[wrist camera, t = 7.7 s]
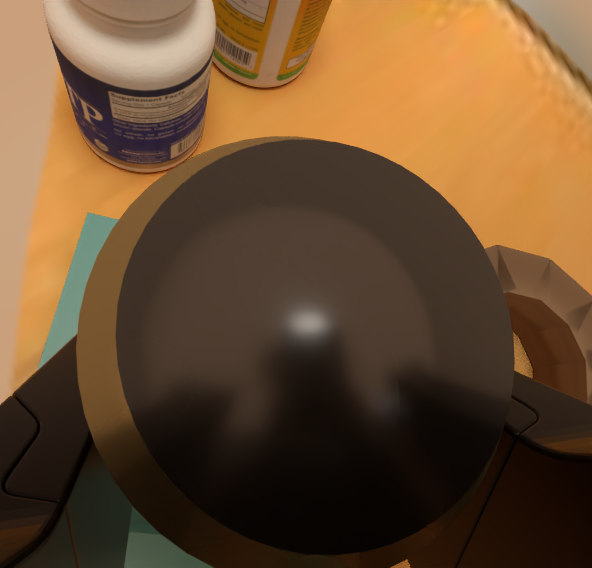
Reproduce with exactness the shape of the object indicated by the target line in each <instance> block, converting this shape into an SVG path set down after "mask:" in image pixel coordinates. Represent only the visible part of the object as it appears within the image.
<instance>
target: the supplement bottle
mask: <svg viewBox="0 0 592 568" xmlns="http://www.w3.org/2000/svg"><path fill="white" fill-rule="evenodd" d="M331 1H332V0H212V3H213V6H214V11H215V18H216V34H215V47H214V53H213V60H212V61H213V62H214V63H215V64H216V65H217V67H218V68H219V69H220V70H221V71H223V72H224V73H225V74H226V75H228V76H229V77H231V78H233V79H234V80H236V81H238V82H241V83H243V84H246V85H249V86H254V87H275V86H280V85H283V84H285V83H288V82H290V81H291V80H293V79H294V78H296V77H297V76H298V75H299V74H300V73H301V72H302V70H303V69H304V68H305V66H306V64H307V62H308V59H309V57H310V55H311V52H312V50H313V47H314V45H315V42H316V39H317V37H318V34H319V32H320V29H321V27H322V24H323V21H324V19H325V16H326V14H327V11H328V9H329V6H330V4H331Z"/></svg>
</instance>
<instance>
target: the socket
mask: <svg viewBox="0 0 592 568" xmlns="http://www.w3.org/2000/svg"><path fill="white" fill-rule="evenodd" d="M485 251H486V253H487V255H488V257H489V259H490V261H491V263H492V265H493V267H494V269H495V271H496V274H497V276H498V279H499V281H500V284H501V286H502V289H503V292H504V296H505V299H506V303H507V307H508V310H509V314H510V320H511V326H512V330H513V331H514V332H515V333H516V334H517V335H518V336H519V337H520V339H521V342H522V344H523V346H524V348H525V350H526V353H527V355H528V357H529V359H530V361H531V364H532V366H533V376H534V380H536V381H538V382H540V383H543V384H545V385H547V386H550V387H552V388H554V389H556V390H559V391H561V392H563V393H566V394H568V395H570V396H573V397H575V398H577V399H580V400H582V401H584V402H587V403H589V404H591V405H592V296H591V295H590V294H589V293H588V292H587V291H586V290H585V289H584V288H582V287H581V286H580V285H579V284H578V283H577V282H576V281H575V280H573V279H572V278H571V277H570V276H569V275H568V274H567V273H566V272H564V271H563V270H562V269H561V268H560V267H559V266H558V265H557V264H555V263H554V262H553V261H552V260H550V259H548V258H545V257H541V256H537V255H534V254H530V253H526V252H523V251H519V250H515V249H511V248H508V247H504V246H500V245H495V246H492V247H489V248H486V249H485Z"/></svg>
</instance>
